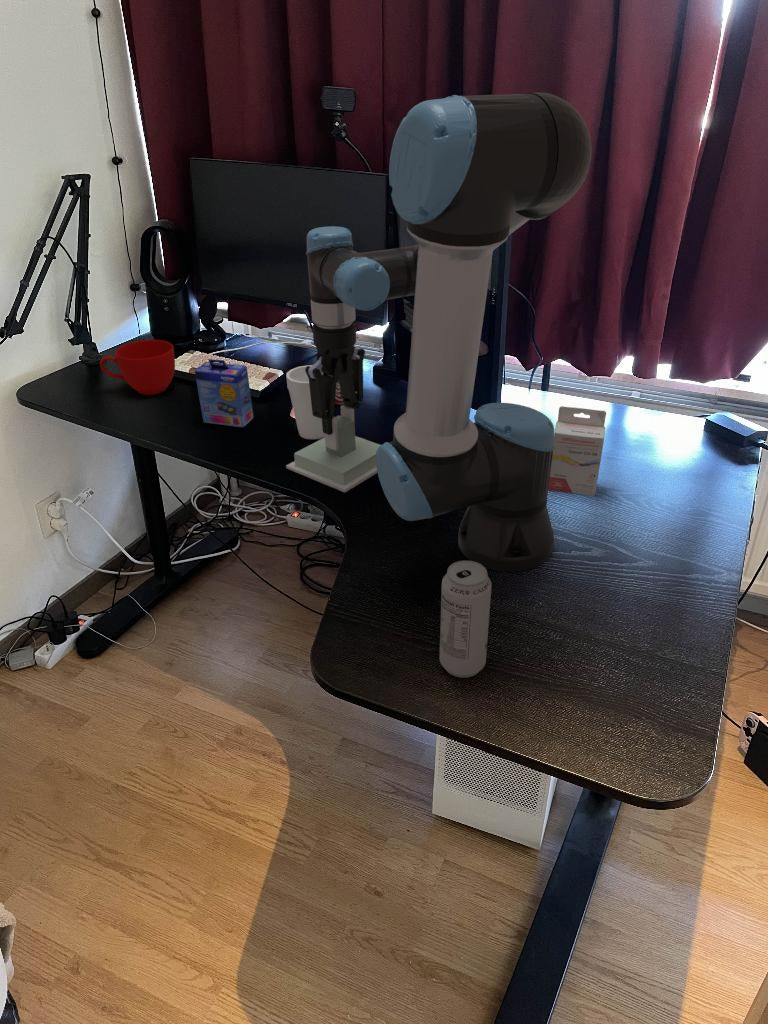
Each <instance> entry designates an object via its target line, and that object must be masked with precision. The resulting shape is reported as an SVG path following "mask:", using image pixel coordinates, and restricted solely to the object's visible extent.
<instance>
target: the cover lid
mask: <svg viewBox="0 0 768 1024" xmlns="http://www.w3.org/2000/svg"><path fill="white" fill-rule="evenodd" d="M335 417H337V425H338V444H339V449H338V450H337V451H336V450H333V449H330V448H328V447H326V446H325V437H323V438H320V439H318V440H317V441H315V442H314V443H312V444H309V445H307V446H306V447H303V448H302V449H299V450H297V451H296V452H294V454H293V457H294V461H295V465H296V466H299V467H301V468H304V469H306V470H309V471H311V472H314V473H316V474H319V475H321V476H323V477H326V478H328V479H331V480H333V481H336V482H338V483H341V484H343V485H345V484H347V483H348V482H350V481H352V480H353V479H355V478H357V477H358V476H360V475H362V474H363V473H365V472H367V471H368V470H370V469H372V468H373V467H375V466H376V451H377V449H378V447H380V445H381V444H379V443H376V442H373V441H370V440H367V439H366V438H363V437H359V436H356V428H355V427H356V425H355V422H356V421H354V420H350V419H347V418H345V417H342V416H341V415H336V416H335Z"/></svg>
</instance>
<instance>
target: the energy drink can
mask: <svg viewBox="0 0 768 1024" xmlns="http://www.w3.org/2000/svg"><path fill="white" fill-rule="evenodd" d="M446 571H447V572H446V574H444V576H443V578H442V581H441V594H440V595H441V597H440V598H441V599H440V626H439V628H440V630H439V631H440V635H439V662H440V665H441V666H442V668H444V669H445V670H446V672H447V673H448V674H449V675H451V676H453V677H457V678H462V679H464V678H466V679H467V678H470V677H474V676H476V675H477V674H478V673H479V672H480V671H482V670H483V669H484V668H485V666H486V664H487V663H486V662H487V651H488V638H489V636H488V634H489V625H490V609H491V597H492V586H493V585H492V581H491V579H490V578H489V576H488V570H487V568H485V567H484V566H482V565H481V564H479V563H477V562H474V561H471V560H458V561H455V562H453V563H451V564H450V565H449V566H448V568H447V570H446Z"/></svg>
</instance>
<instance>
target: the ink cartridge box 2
mask: <svg viewBox="0 0 768 1024" xmlns="http://www.w3.org/2000/svg"><path fill="white" fill-rule="evenodd" d="M580 414H583V415H585V416H589V417H580V416H575V415H580ZM606 416H607V411H606V410H599V409H591V408H583V407H582V408H581V407H576V406H575V407H574V406H573V407H572V406H565V405H564V406H563V405H561V406H560V407H559V408H558V415H557V421H556V422H555V427H554V446H555V447H554V450H553V455H552V463H551V470H550V479H549V488H548V491H553V492H561V493H568V494H575V495H583V496H590V497H595V495H596V491H597V486H598V479H599V474H600V473H599V472H600V467H601V461H602V455H603V449H604V443H605V442H604V441H605V434H606V427H605V423H606V418H607V417H606Z"/></svg>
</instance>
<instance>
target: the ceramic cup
mask: <svg viewBox="0 0 768 1024" xmlns="http://www.w3.org/2000/svg"><path fill="white" fill-rule="evenodd" d="M175 357H176V356H175V349H174V345H173V344H172V343H171V342H169V341H167V340H161V339H144V340H136V341H133V342H130V343H129V342H127V343H126V344H123V345H121V346H120V347H118V348H116V350H115V357H114V356H109V355H108V356H104V357H102V358H101V359H100V361H99V366H100V369H101V371H103V373H105V375H108V376H109V377H112V378H115V379H119V380H125V382H126V383H127V384H128V385H129V386H130V387H131V388H132V389H134V390H135V391H136V392H137V393H138V394H140V395H145V396H152V395H153V396H154V395H159V394H161V393H163V392H165V391H166V390H167V388H168V387H169V386H170V383H171V382H172V380H173V377H174V375H175V370H176V369H175V368H176V358H175ZM105 361H111V362H113V363H115V364H116V365H117V367H118V368H119V371H120V373H121V374H118V373H114V372H111V371H109V370H108V369H107V368H106V367H105V366H104V362H105Z"/></svg>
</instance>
